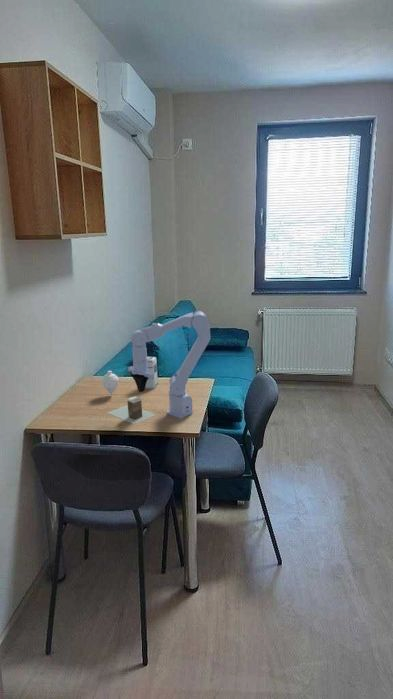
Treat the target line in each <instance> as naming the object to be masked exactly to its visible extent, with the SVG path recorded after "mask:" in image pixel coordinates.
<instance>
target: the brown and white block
mask: <svg viewBox="0 0 393 699" xmlns="http://www.w3.org/2000/svg"><path fill="white" fill-rule="evenodd" d="M142 404H143V403H142V398H141V397H138V396H133V397H132V396H131V397H130V398H127V405H128V415H129V417H130V418H132V419H134V420H135V419H138V418H140V417H142V409H143V406H142Z"/></svg>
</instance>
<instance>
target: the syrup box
mask: <svg viewBox="0 0 393 699" xmlns="http://www.w3.org/2000/svg"><path fill="white" fill-rule="evenodd" d="M157 361H158V360H157V357H156V356H147V369H148V370H149V371H150V372H152V373H154V378H152V379H149V378H148V380H147V382H146V386H145V389H156V388H157V387H158V385H159V380H158V379H159V378H158V363H157Z"/></svg>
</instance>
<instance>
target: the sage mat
mask: <svg viewBox="0 0 393 699" xmlns="http://www.w3.org/2000/svg"><path fill="white" fill-rule="evenodd" d="M106 413H107V414H110V415H112V416H113V417H116V418H118V419H120V420H123V421H125V422H128V423H129V424H132V425H135V424H137V423H140V422H143V421H144V420H147V419H150V418H152V417H155V416H157V414H156V413H153V412H150V411H148V410H145V409H143V408H142V417H140V418H138V419H135V420H134V419H132V418H130V417H129V415H128V404H127V405H123V406H121V407H120V406H119V407H118V408H115V409H112V410H110V411H107V412H106Z"/></svg>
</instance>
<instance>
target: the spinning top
mask: <svg viewBox="0 0 393 699" xmlns="http://www.w3.org/2000/svg"><path fill="white" fill-rule="evenodd" d="M119 381H120V379H119V377H118V376H117V374H115V373H113V371H112V370H107V373H106V374H104V376H103V377H102V379H101V383H102V384H101V385H103V387H104V389H105V390H106V391H107V392H108V393H109V394H110V395H111V396H113V393H114V392H115V391H116V388H117V387H118V386H119V383H120V382H119Z"/></svg>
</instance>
